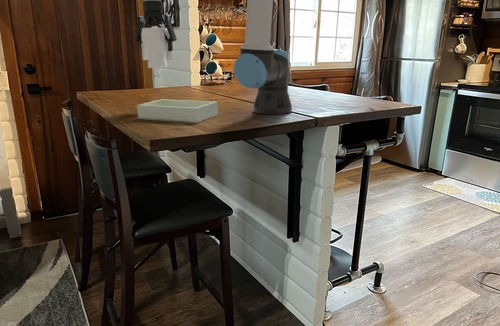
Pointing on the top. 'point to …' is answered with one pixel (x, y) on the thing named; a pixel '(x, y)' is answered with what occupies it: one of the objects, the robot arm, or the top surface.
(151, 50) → the cup
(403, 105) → the top surface
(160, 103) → the white shallow tray
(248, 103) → the top surface
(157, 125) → the top surface
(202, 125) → the top surface
